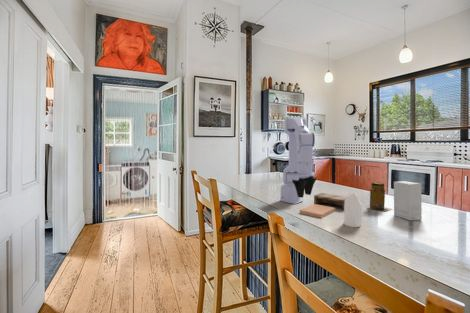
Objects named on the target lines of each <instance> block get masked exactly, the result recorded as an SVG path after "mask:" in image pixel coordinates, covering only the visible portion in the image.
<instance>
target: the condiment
mask: <svg viewBox="0 0 470 313" xmlns="http://www.w3.org/2000/svg"><path fill="white" fill-rule="evenodd" d="M370 185H371V187H370V190H369V206H367V207H365V208H366V209H369V210H376V211H382V212H389V211H390V210H392V208H390V207H385V202H386V201H385V198H386V190H385V184H384V183H382V182H377V181H375V182H371V184H370Z"/></svg>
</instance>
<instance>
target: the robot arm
mask: <svg viewBox="0 0 470 313" xmlns="http://www.w3.org/2000/svg"><path fill="white" fill-rule="evenodd" d="M284 133H285V134H287V136H288V165H287V166H286V167H285V168H284V169H283V171H282V172H283V173H282V182H283V184H282V185H281V187H280V199H279V201H280V202H284V203H288V204H293V205H296V204H299V203H303V201H304V200H303V199H300V198H304V195H308V196H311V194H312V191H313V187H314V185H315V182H316V181H317V177H316V172H315V171H313V150H314V146H315V142H316V137H315V134H314V132H310V130H309V128H308V127H307V118H306V116H285V117H284Z"/></svg>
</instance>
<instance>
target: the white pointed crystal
mask: <svg viewBox="0 0 470 313" xmlns="http://www.w3.org/2000/svg"><path fill="white" fill-rule="evenodd" d="M347 197H348V198H347V199H346V200H345V203H344V210H343V211H344V212H343V215H344V218H343V224H344V225H345V226H347V227H350V228H360V227H362V214H363V213H362V212H363V209H362V208H363V205H362V203H361V201H360V200H359V197H358V195H357V194H356V193H352V194H349V196H347Z"/></svg>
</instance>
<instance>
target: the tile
mask: <svg viewBox="0 0 470 313" xmlns="http://www.w3.org/2000/svg"><path fill="white" fill-rule="evenodd" d="M334 212H336V207H333V206H329V205H328V206H327V205H321V204H314V203H313V204H310V205H308V206H307V207H303V208H302V209H299V214H302V215H305V216H311V217H316V218H320V219H323V218H325V217H327V216H329V215H330V214H333V213H334Z"/></svg>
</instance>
